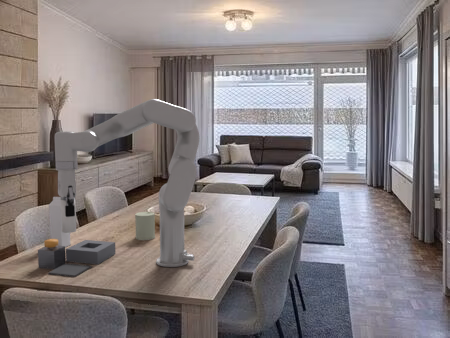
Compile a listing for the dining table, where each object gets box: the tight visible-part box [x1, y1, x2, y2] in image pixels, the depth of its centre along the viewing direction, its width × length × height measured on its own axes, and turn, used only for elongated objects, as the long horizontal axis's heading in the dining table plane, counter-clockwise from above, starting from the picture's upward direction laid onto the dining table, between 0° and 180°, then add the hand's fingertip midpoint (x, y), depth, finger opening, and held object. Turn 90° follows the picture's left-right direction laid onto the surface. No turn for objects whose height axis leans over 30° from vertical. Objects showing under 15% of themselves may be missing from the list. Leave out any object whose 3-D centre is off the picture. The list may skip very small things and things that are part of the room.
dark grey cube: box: [37, 246, 67, 270], centre depth 175 cm, size 7×7×7 cm
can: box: [134, 211, 156, 241], centre depth 215 cm, size 9×9×12 cm
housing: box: [65, 239, 117, 265], centre depth 185 cm, size 14×14×5 cm
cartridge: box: [61, 193, 77, 234], centre depth 168 cm, size 5×5×14 cm
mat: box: [48, 262, 93, 278], centre depth 170 cm, size 11×11×1 cm
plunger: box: [43, 238, 58, 249], centre depth 175 cm, size 5×5×8 cm
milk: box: [48, 196, 71, 248], centre depth 201 cm, size 6×6×22 cm
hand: (68, 214), depth 168 cm, fingers closed on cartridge, 5 cm apart
